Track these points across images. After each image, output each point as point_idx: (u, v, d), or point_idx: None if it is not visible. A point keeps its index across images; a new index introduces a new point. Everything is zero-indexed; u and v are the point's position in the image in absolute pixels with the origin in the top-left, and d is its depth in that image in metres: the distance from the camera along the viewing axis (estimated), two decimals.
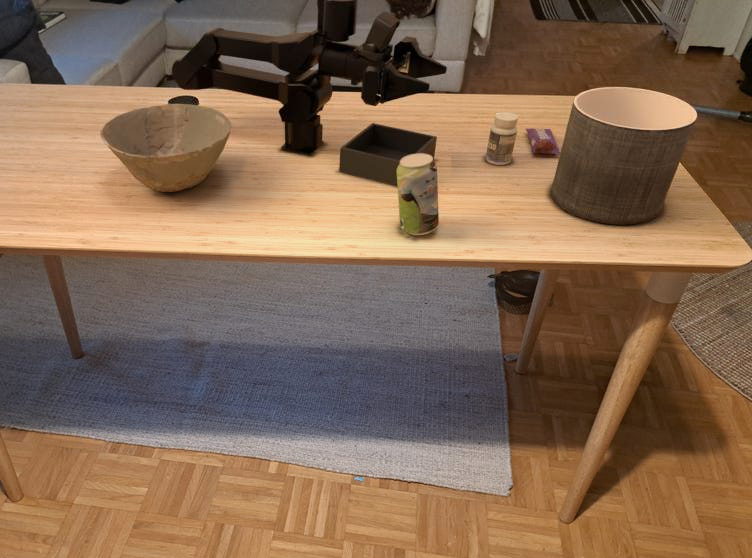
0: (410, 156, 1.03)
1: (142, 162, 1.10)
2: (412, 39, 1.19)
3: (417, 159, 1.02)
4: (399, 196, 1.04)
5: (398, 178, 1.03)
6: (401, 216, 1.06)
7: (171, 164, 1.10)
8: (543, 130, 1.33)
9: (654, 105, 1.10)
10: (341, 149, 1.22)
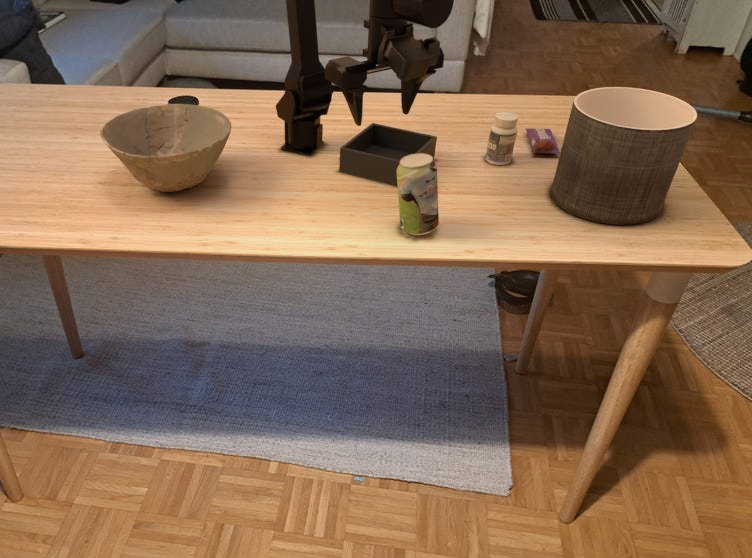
0: (410, 156, 1.03)
1: (142, 162, 1.10)
2: (436, 67, 1.06)
3: (417, 159, 1.02)
4: (399, 196, 1.04)
5: (398, 178, 1.03)
6: (401, 216, 1.06)
7: (171, 164, 1.10)
8: (543, 130, 1.33)
9: (654, 105, 1.10)
10: (341, 149, 1.22)
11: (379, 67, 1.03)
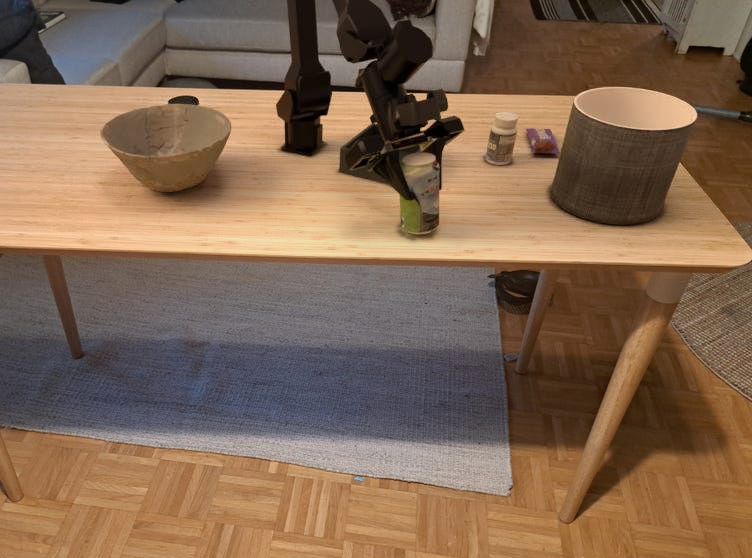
0: (413, 155, 1.03)
1: (142, 162, 1.10)
2: (457, 129, 1.03)
3: (420, 158, 1.02)
4: None
5: None
6: (402, 214, 1.06)
7: (171, 164, 1.10)
8: (543, 130, 1.33)
9: (654, 105, 1.10)
10: (341, 149, 1.22)
11: None
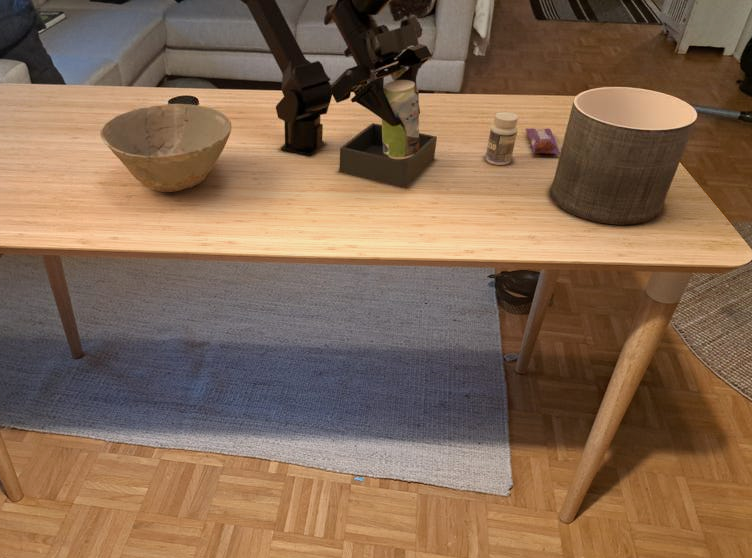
0: (391, 83, 1.09)
1: (142, 162, 1.10)
2: (426, 56, 1.11)
3: (399, 84, 1.08)
4: (384, 122, 1.10)
5: None
6: (387, 141, 1.12)
7: (171, 164, 1.10)
8: (543, 130, 1.33)
9: (654, 105, 1.10)
10: (341, 149, 1.22)
11: (377, 69, 1.07)
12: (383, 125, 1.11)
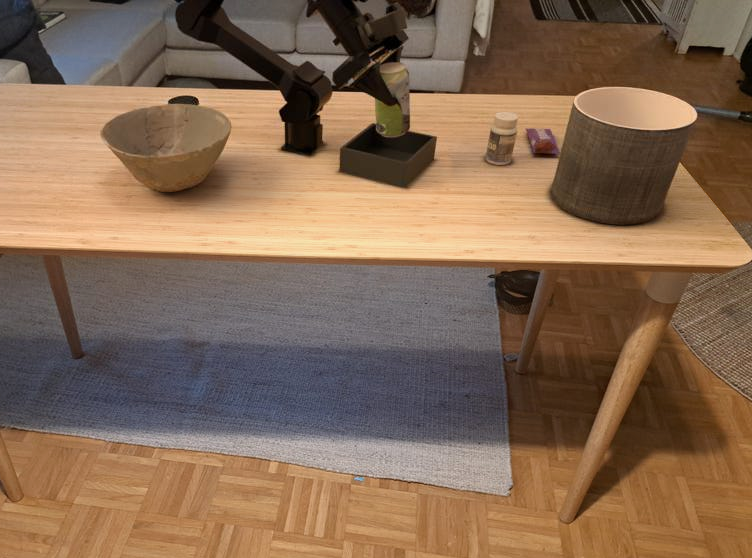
0: (381, 66, 1.16)
1: (142, 162, 1.10)
2: (405, 38, 1.19)
3: (391, 66, 1.16)
4: (380, 103, 1.17)
5: None
6: (383, 121, 1.19)
7: (171, 164, 1.10)
8: (543, 130, 1.33)
9: (654, 105, 1.10)
10: (341, 149, 1.22)
11: (370, 54, 1.14)
12: (378, 106, 1.18)
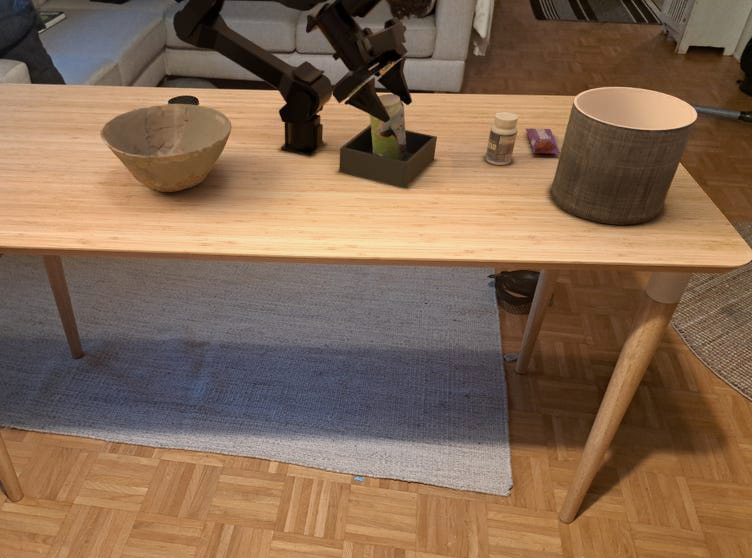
0: None
1: (142, 162, 1.10)
2: (404, 52, 1.20)
3: (385, 99, 1.19)
4: (377, 135, 1.21)
5: (376, 119, 1.19)
6: (380, 152, 1.22)
7: (171, 164, 1.10)
8: (543, 130, 1.33)
9: (654, 105, 1.10)
10: (341, 149, 1.22)
11: (369, 68, 1.15)
12: (375, 138, 1.21)
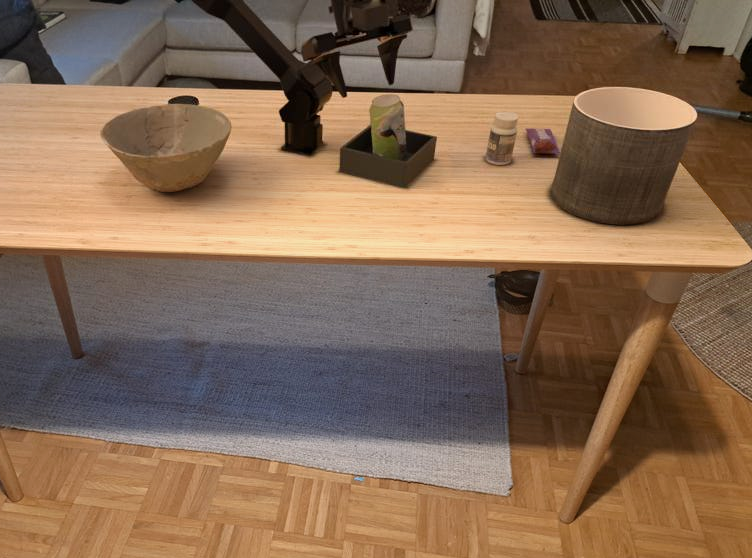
0: (376, 99, 1.20)
1: (142, 162, 1.10)
2: (405, 29, 1.13)
3: (385, 99, 1.19)
4: (377, 135, 1.21)
5: (376, 119, 1.19)
6: (380, 151, 1.22)
7: (171, 164, 1.10)
8: (543, 130, 1.33)
9: (654, 105, 1.10)
10: (341, 149, 1.22)
11: (349, 37, 1.12)
12: (375, 138, 1.21)
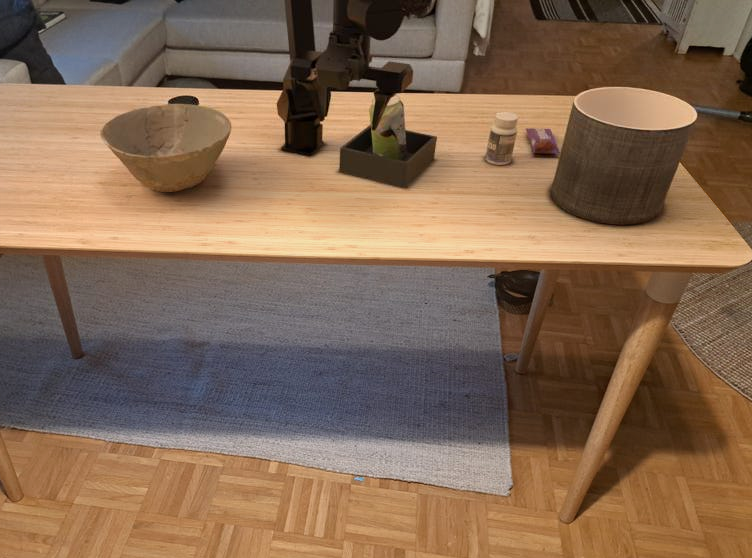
0: None
1: (142, 162, 1.10)
2: (388, 90, 1.01)
3: None
4: (377, 135, 1.21)
5: None
6: (380, 151, 1.22)
7: (171, 164, 1.10)
8: (543, 130, 1.33)
9: (654, 105, 1.10)
10: (341, 149, 1.22)
11: None
12: (375, 138, 1.21)
